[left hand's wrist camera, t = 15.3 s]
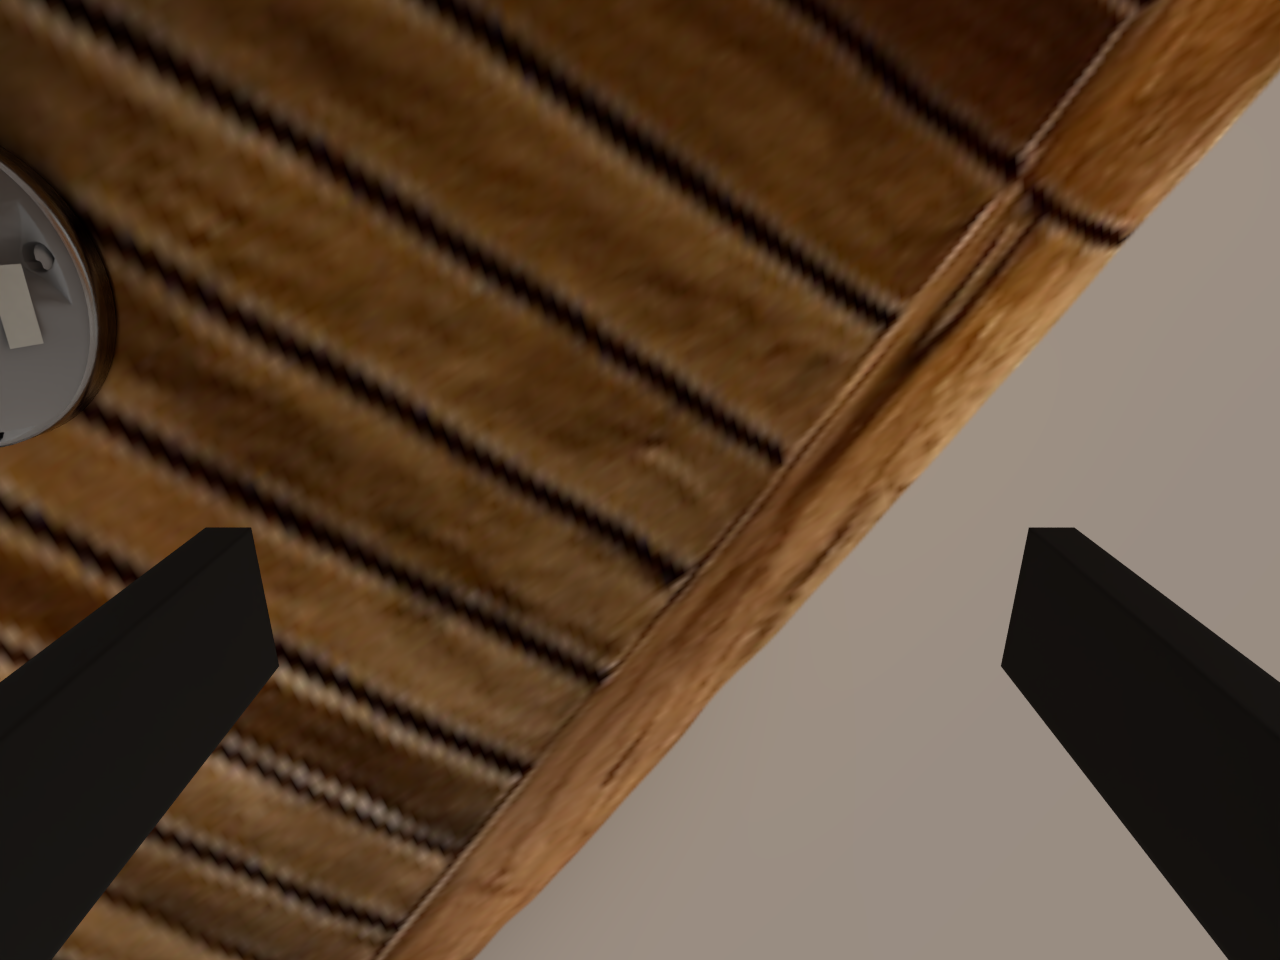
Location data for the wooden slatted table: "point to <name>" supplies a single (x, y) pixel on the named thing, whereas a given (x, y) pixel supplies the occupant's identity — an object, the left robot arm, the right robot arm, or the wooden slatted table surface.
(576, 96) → the wooden slatted table surface
